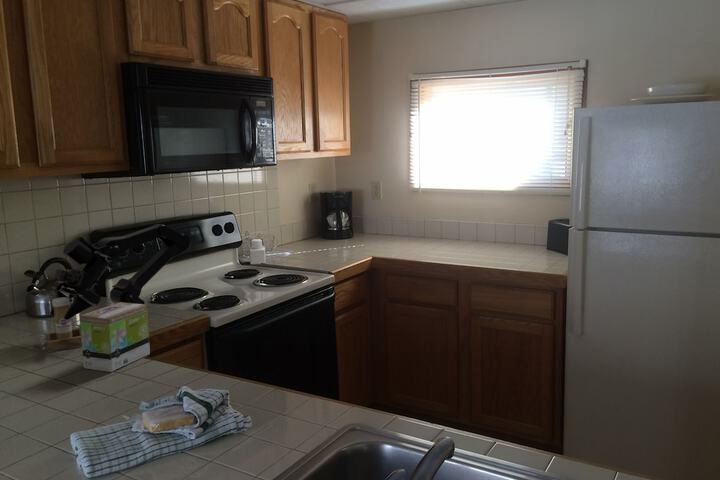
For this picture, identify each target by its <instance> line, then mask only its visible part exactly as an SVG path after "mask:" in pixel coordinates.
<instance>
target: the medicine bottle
mask: <svg viewBox="0 0 720 480" xmlns="http://www.w3.org/2000/svg"><path fill="white" fill-rule="evenodd" d="M266 259H267V258H266V247H265V246H264V239H262V238H259V237H258V238H252V239H250V248H249V261H250V262H249V263H250V265H262V264H261V263H265V264H266Z"/></svg>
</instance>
